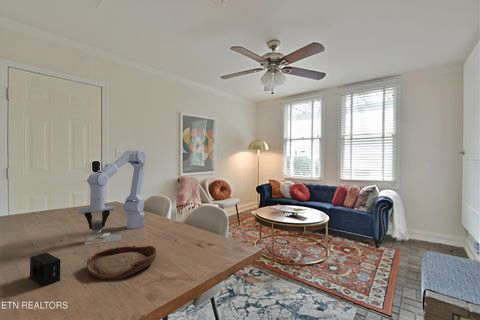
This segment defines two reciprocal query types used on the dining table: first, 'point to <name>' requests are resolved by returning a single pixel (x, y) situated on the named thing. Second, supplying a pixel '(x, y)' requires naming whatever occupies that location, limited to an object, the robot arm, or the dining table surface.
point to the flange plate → (104, 239)
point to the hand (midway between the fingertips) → (96, 227)
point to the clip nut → (96, 226)
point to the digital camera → (45, 269)
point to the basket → (120, 261)
